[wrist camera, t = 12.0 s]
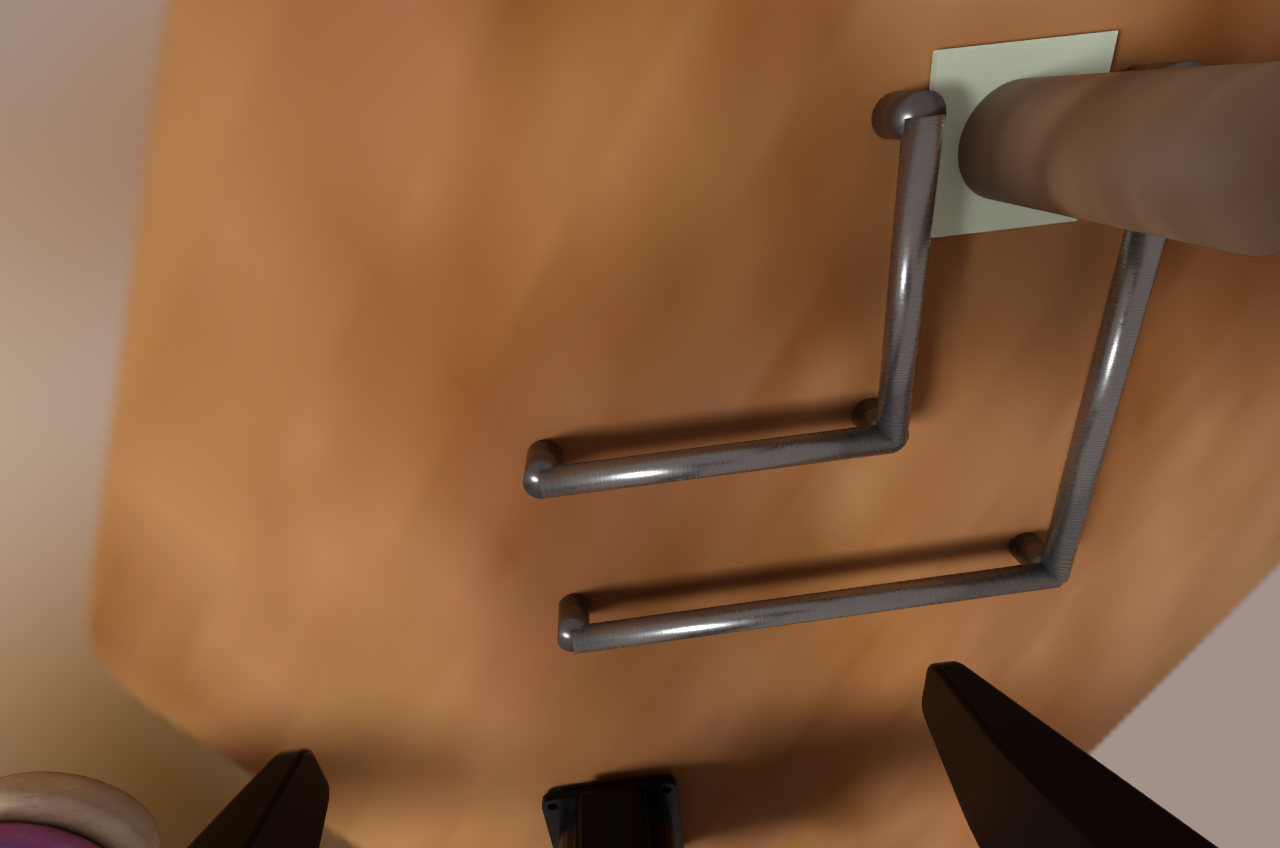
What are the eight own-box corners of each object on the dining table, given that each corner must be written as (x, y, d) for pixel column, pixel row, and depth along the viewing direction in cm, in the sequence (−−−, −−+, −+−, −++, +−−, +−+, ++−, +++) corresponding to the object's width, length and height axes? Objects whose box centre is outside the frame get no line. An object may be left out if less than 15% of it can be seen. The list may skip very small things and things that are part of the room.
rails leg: (1037, 543, 25) (1077, 581, 23) (841, 569, 25) (864, 610, 23) (1156, 62, 18) (1233, 56, 15) (873, 94, 17) (912, 92, 15)
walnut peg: (1054, 193, 19) (1347, 245, 12) (950, 205, 19) (1182, 266, 11) (1078, 71, 17) (1431, 46, 10) (965, 84, 17) (1242, 67, 10)
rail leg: (1034, 554, 26) (1074, 593, 24) (561, 618, 25) (559, 664, 23) (1079, 372, 22) (1131, 399, 20) (524, 442, 21) (518, 477, 19)
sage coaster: (1069, 219, 19) (1077, 220, 19) (913, 237, 19) (918, 239, 19) (1109, 31, 17) (1118, 30, 17) (933, 50, 17) (938, 49, 17)
